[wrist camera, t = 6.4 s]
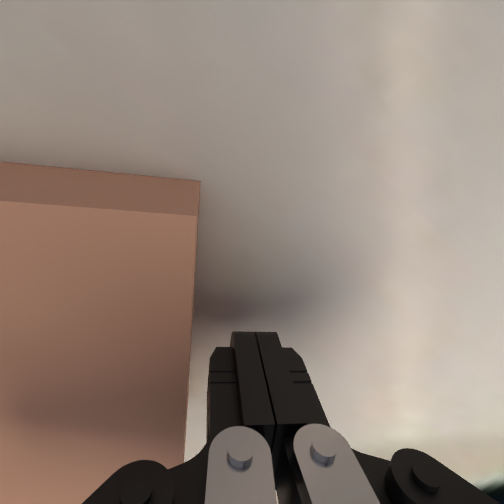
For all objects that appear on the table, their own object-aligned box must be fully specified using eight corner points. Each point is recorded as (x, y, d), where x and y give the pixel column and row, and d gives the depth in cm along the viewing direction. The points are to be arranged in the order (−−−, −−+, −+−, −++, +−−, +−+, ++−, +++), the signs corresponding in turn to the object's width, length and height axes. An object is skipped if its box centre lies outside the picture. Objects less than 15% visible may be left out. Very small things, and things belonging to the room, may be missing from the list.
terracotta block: (-62, 155, 10) (-315, 176, 5) (200, 180, 11) (196, 215, 6) (-6, 402, 13) (-124, 552, 8) (188, 398, 14) (179, 525, 10)
